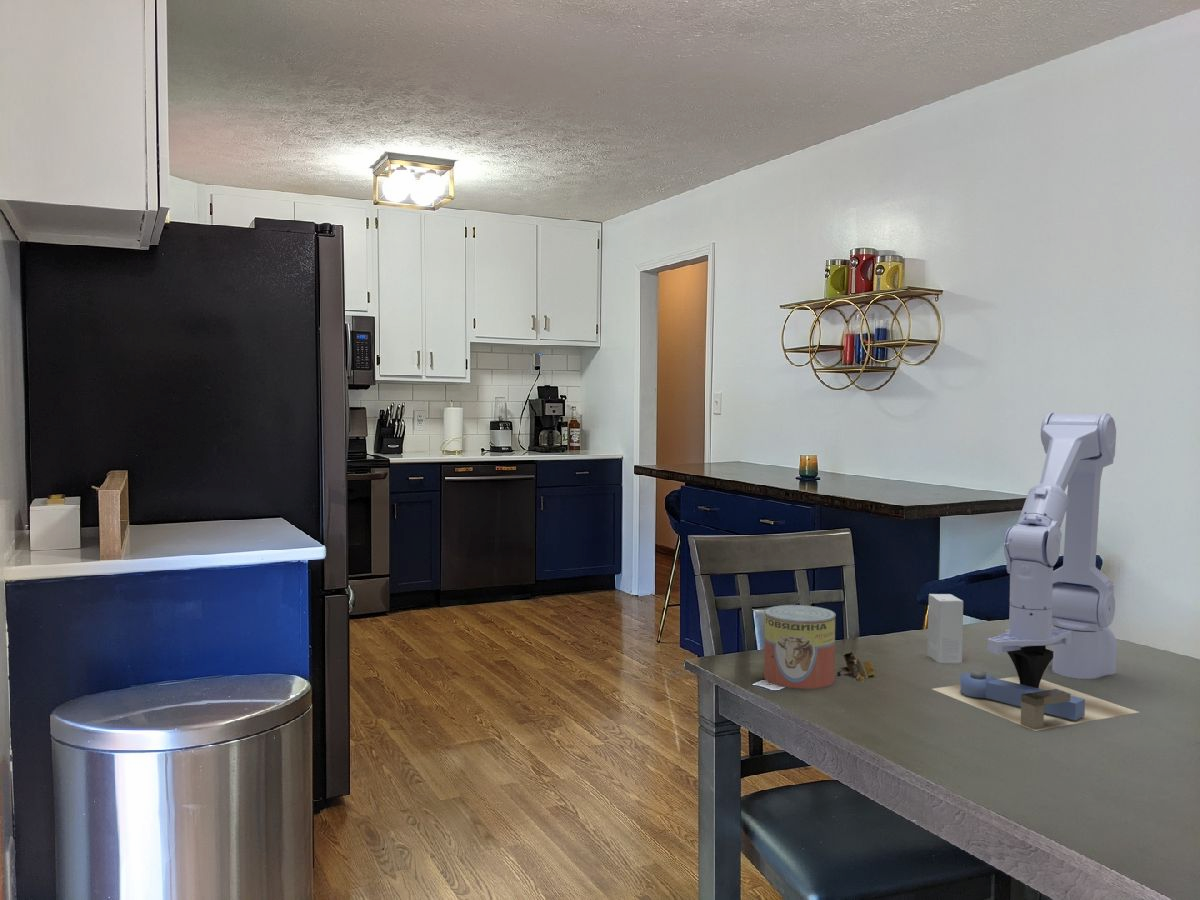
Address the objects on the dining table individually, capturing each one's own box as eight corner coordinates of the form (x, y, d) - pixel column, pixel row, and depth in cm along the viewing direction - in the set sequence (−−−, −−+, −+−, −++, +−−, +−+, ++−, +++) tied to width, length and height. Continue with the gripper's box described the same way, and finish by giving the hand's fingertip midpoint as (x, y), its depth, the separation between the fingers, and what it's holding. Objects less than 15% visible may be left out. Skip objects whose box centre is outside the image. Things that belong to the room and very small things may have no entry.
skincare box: (963, 670, 159) (964, 600, 158) (937, 669, 159) (939, 600, 159) (950, 660, 165) (951, 593, 165) (926, 660, 165) (927, 593, 165)
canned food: (758, 692, 147) (759, 617, 146) (769, 673, 157) (769, 602, 157) (832, 699, 143) (832, 622, 143) (837, 679, 154) (838, 607, 153)
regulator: (884, 707, 142) (873, 664, 157) (876, 684, 142) (866, 643, 156) (836, 719, 144) (830, 675, 158) (828, 697, 144) (822, 655, 158)
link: (954, 692, 142) (954, 671, 142) (970, 685, 145) (970, 665, 145) (1072, 722, 129) (1072, 699, 128) (1087, 714, 132) (1088, 692, 132)
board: (1027, 681, 152) (1027, 674, 152) (1139, 720, 134) (1139, 712, 134) (931, 696, 145) (931, 688, 145) (1035, 739, 126) (1035, 730, 126)
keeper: (1055, 726, 131) (1056, 688, 131) (1069, 732, 129) (1070, 693, 129) (1020, 732, 129) (1021, 694, 128) (1034, 738, 127) (1035, 699, 126)
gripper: (1045, 596, 144) (1043, 682, 144) (972, 604, 138) (970, 694, 139) (1084, 605, 137) (1082, 695, 138) (1009, 614, 132) (1007, 708, 133)
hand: (1028, 696), depth 138 cm, fingers closed
